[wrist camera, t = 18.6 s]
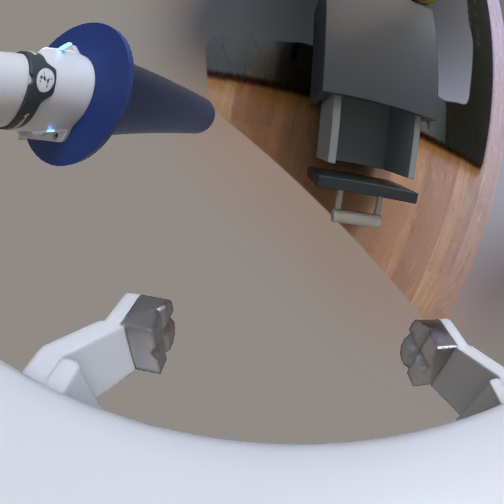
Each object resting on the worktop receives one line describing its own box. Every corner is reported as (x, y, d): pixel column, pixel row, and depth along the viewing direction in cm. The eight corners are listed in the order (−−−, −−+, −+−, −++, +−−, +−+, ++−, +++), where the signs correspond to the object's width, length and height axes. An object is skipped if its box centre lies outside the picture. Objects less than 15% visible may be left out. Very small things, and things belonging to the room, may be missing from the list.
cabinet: (397, 122, 31) (436, 121, 21) (309, 104, 32) (322, 90, 22) (399, 34, 25) (433, 10, 15) (314, 13, 26) (326, -24, 16)
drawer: (382, 217, 36) (407, 240, 28) (303, 206, 36) (311, 227, 28) (398, 95, 29) (429, 86, 20) (316, 76, 29) (328, 58, 21)
